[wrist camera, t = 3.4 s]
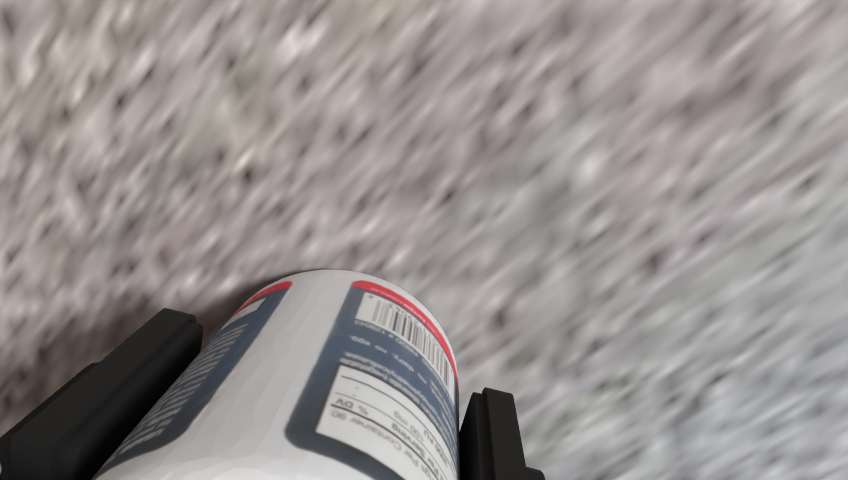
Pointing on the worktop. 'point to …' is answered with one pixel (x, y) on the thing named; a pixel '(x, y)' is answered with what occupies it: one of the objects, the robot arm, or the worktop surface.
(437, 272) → the worktop surface
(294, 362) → the pill bottle
